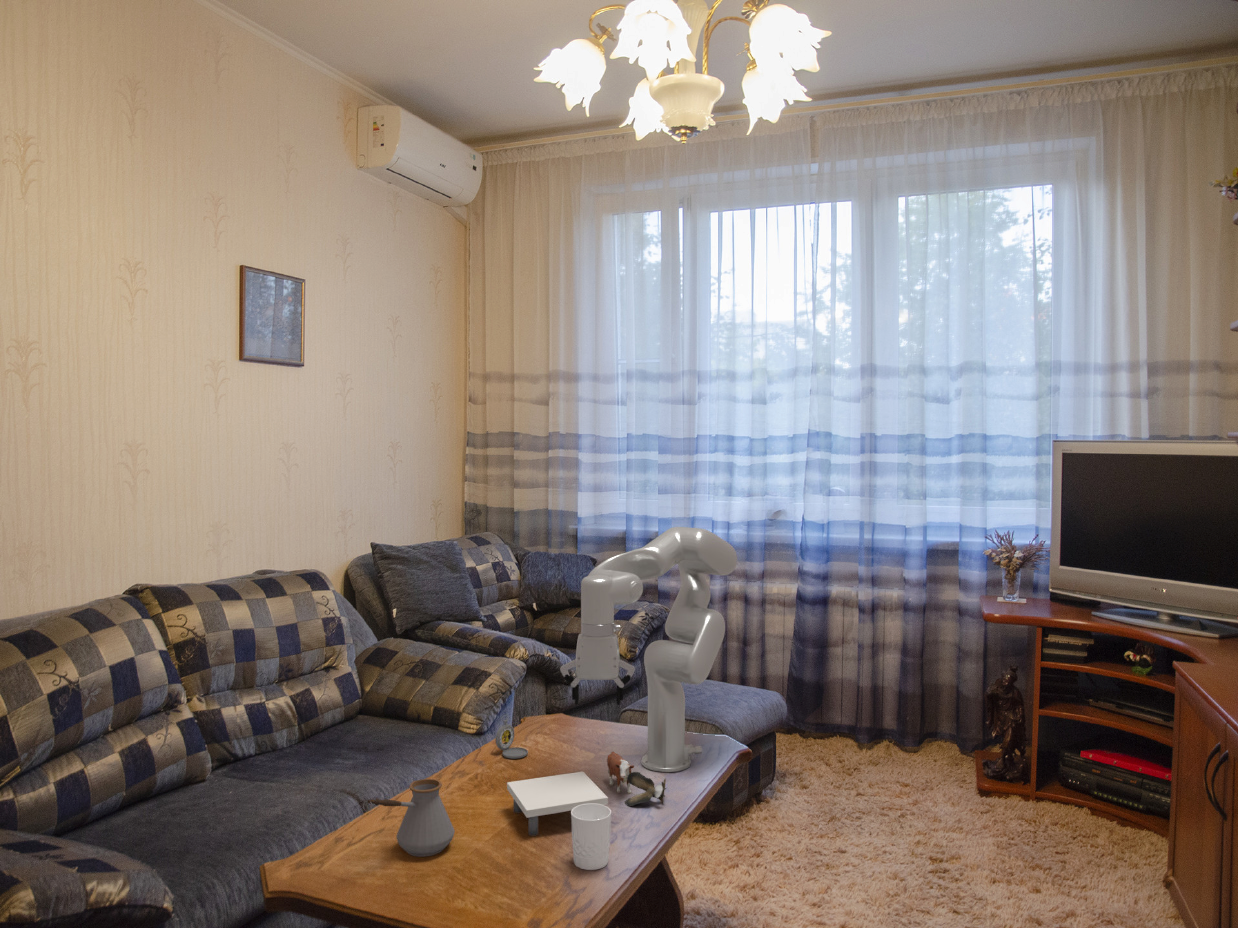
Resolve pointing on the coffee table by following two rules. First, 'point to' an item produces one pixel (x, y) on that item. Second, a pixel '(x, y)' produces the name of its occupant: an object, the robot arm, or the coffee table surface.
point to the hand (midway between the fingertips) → (597, 702)
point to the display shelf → (553, 795)
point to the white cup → (591, 835)
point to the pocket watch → (508, 742)
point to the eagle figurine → (646, 785)
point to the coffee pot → (422, 819)
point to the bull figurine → (619, 770)
